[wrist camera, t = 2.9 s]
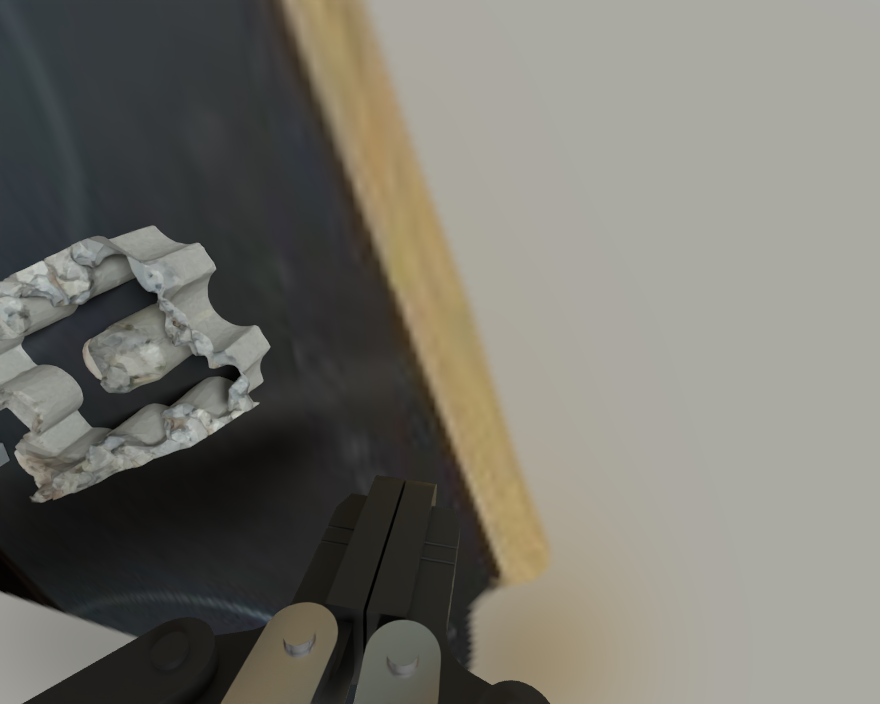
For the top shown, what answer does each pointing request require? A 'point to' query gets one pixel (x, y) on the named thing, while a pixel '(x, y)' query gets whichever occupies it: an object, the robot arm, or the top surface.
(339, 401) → the top surface
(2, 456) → the grey u-shaped frame
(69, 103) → the top surface
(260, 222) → the top surface
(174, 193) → the top surface
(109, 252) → the egg carton
